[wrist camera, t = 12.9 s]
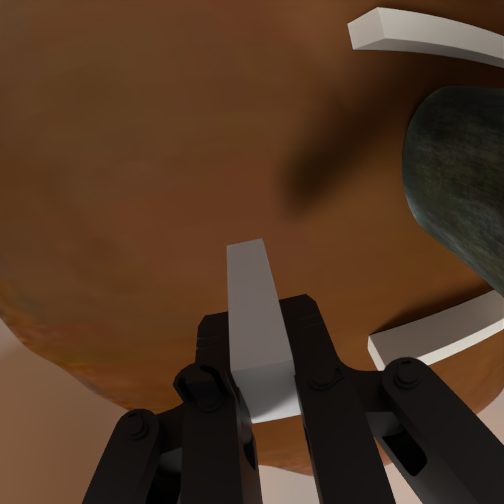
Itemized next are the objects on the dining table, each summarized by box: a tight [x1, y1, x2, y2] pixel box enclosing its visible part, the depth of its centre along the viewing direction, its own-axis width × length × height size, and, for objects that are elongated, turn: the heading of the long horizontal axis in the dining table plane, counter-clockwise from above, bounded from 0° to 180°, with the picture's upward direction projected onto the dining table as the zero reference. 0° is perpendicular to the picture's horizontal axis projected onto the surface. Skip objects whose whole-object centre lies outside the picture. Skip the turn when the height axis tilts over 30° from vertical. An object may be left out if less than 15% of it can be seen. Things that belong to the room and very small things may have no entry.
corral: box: [347, 7, 504, 371], centre depth 15 cm, size 22×17×4 cm
